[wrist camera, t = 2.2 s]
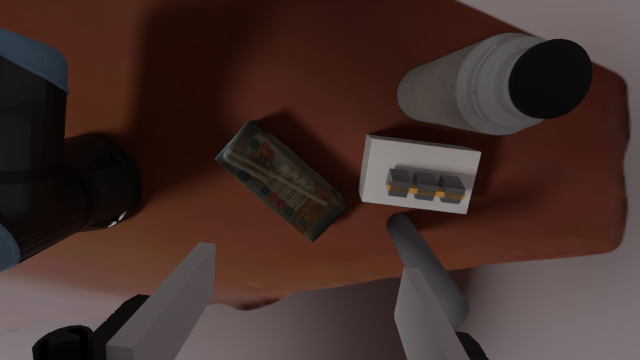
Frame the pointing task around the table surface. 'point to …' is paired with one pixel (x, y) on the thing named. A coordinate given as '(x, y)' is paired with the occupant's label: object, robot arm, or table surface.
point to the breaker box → (415, 169)
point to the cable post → (427, 267)
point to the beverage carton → (282, 180)
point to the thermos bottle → (498, 84)
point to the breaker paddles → (425, 186)
